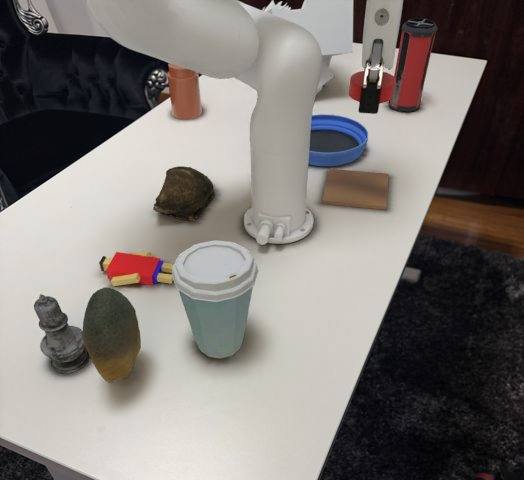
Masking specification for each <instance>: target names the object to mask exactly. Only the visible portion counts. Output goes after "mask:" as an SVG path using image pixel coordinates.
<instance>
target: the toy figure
mask: <svg viewBox="0 0 524 480" xmlns="http://www.w3.org/2000/svg"><path fill="white" fill-rule="evenodd" d="M98 264H99V267H100V271H101V272H105V273H106V277H107V279H108V280H110V284H111V285H112V286H113V287H116V286H117V287H118V286H123V285H131V284H132V285H133V284H140V285H141V284H142V285H147V286H148V285H149V286H154V284H158V283H165V284H172V283H173V282H174V280H173V278H172V268H173V266H174V263H167V262H165V261H164V260H161V257H155V256H152V254H151V252H150V250H146V251H140V252H134V253H126V252H121V251H116V252H115V253H114V254H113V257H112V258H110V257H107V256H106V255H103V256H102V257H101V259H100V260H99V262H98ZM168 273H170V274H168Z"/></svg>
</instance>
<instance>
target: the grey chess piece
mask: <svg viewBox="0 0 524 480" xmlns="http://www.w3.org/2000/svg"><path fill="white" fill-rule="evenodd" d="M33 309H34V312H35V314H36V316H37V318H38V320H39V321H38V327H39V328H40V330H41V331H44V336H43V337H42V339H41V341H40V343H39V344H40V345H39V348H40V351H41V353H42V355H44V356H46V357H47V358H49V359H50V365H51V367H52V369H53V370H54V371H56V372H57V373H61V374H70V373H71V374H72V373H74V372H77V371H79V370H81V369H83V368H84V367H85V366H86V365H87V364H88V363H89V361H90V359H91V357H90V355H89V353H88V351H87V350H86V348H85V346H84V343H83V337H82V335H83V329H81V328H80V327H78V326H75V325H69V323H68V322H69V317H68V315H67V313H65V312H63V311H62V308H61V306H60V304H59V302H58V300H57V299H56V298H55V297H52V296H50V295H44V294H41V293H40V295H39V296H38V299H36V300H35V302H34V304H33Z"/></svg>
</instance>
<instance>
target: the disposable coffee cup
mask: <svg viewBox="0 0 524 480" xmlns="http://www.w3.org/2000/svg"><path fill="white" fill-rule="evenodd" d="M173 264H174V266H173V268H172V273H171V275H172V278H173V283H174V286H175V288H176V290H178V293H179V296H180V298H181V302H182V305H183V308H184V311H185V314H186V317H187V319H188V322H189V326H190V329H191V331H192V334H193V336H194V337H193V338H194V340H195V343H196V345H197V349H198V350H200V352H201V353H202V354H204V355H205V356H207V357H208V358H213V359H225V358H229V357H231V356H233V355H234V354H235V353H237V352H238V351H240V348H241V347H242V345H243V341H244V337H245V333H246V326H247V321H248V316H249V310H250V306H251V299H252V294H253V289H254V286H255V284H256V281H257V278H258V275H259V269H258V268H259V267H258V264H257V262H256V260H255V259H254V257H253V255H252V253H251V252H250V251H249V249H248V248H247V247H245V246H243V245H240V244H239V243H236V242H233V241H228V240H227V241H226V240H215V239H213V240H209V241H208V240H207V241H204V242H198V243H195V244H193V245H191V246H190V247H189V248H186V249H185V250H184V251H182V252H181V253H180V254H178V256H177V257H176V258H175V262H174V263H173Z"/></svg>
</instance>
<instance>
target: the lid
mask: <svg viewBox="0 0 524 480" xmlns="http://www.w3.org/2000/svg"><path fill="white" fill-rule="evenodd" d="M368 74H370V71H368ZM378 74H379V72H378ZM364 76H365V71H364V70H360V71H357V72H354V73H353V74H352V75H351V76H350V78H349V79H350V80H349V88H348V96H349V97H350V99H352V100H353V101H356V102H358V103H359V102H360V95H361V87H362V86H363V84H364ZM395 84H396V79H395V77H394V75H392V74H391V73H388V72H385V71H383V74H382V80H381V87H382V90H381V96H380V103H379V104H384V103H389V101H390V100H391V99H392V98H393V95H394V89H395Z"/></svg>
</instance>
